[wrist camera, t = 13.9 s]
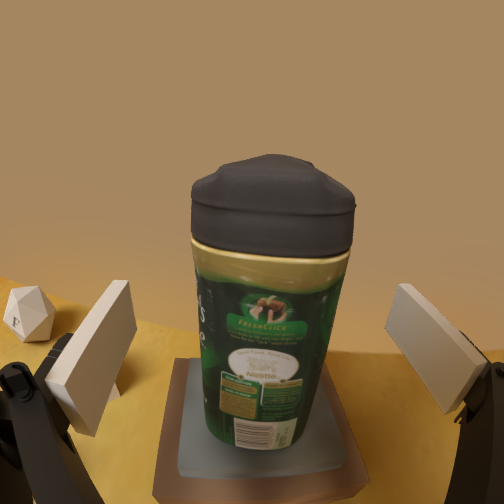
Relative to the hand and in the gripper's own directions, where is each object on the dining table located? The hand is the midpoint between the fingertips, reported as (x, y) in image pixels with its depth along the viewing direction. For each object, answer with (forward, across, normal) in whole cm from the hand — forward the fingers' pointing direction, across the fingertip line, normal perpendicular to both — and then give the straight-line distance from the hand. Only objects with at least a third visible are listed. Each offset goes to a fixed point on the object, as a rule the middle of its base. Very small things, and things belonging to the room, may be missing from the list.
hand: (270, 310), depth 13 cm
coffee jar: (+3, 0, -12) cm, 12 cm away
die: (+16, -32, -18) cm, 40 cm away
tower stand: (+4, 0, -18) cm, 18 cm away
